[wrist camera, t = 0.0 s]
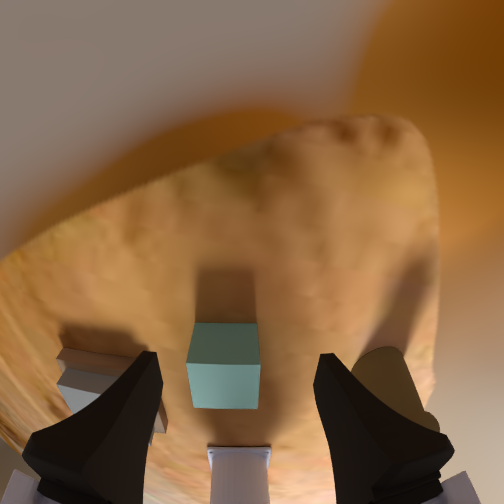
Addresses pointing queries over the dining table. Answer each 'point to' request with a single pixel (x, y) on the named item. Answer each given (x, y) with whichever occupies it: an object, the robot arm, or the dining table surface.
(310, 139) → the dining table surface
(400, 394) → the olive upright rounded piece
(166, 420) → the walnut block
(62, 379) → the grey block
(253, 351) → the teal cube
